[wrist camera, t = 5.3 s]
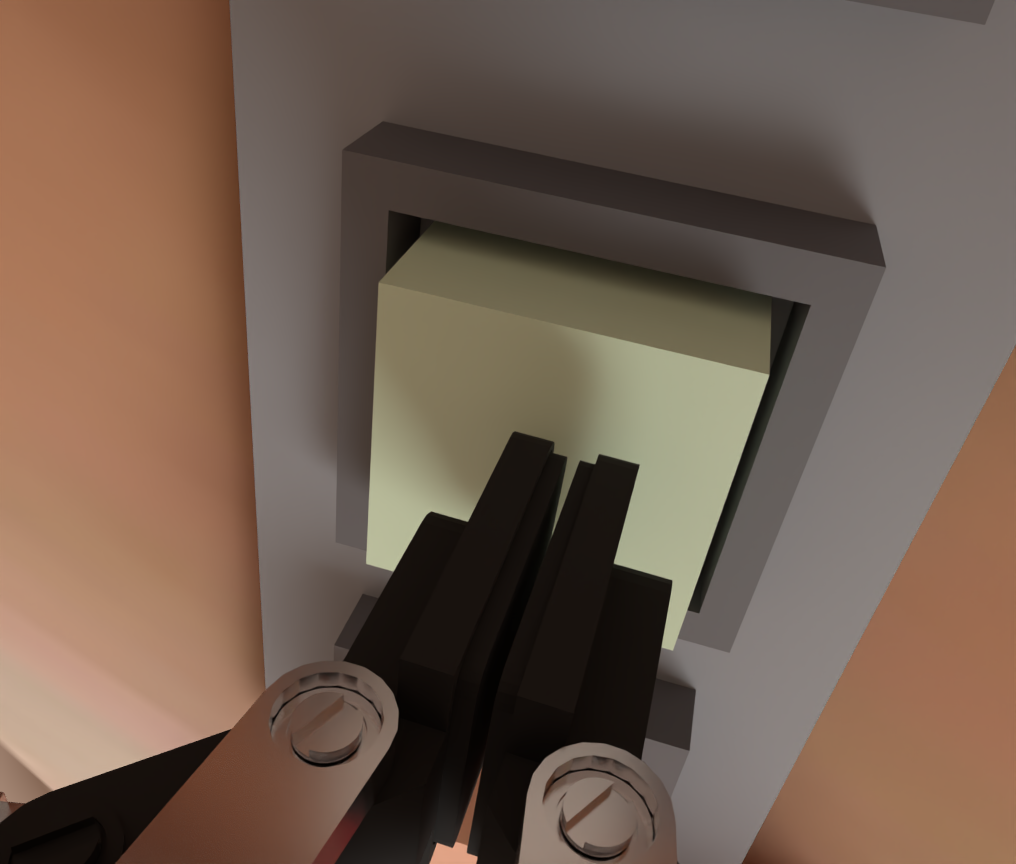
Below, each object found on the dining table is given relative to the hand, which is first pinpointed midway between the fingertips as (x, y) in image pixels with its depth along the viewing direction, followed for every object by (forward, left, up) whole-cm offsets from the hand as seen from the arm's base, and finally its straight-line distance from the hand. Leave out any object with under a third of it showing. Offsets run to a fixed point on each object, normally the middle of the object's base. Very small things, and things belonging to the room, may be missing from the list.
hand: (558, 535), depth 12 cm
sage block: (0, 0, -3) cm, 3 cm away
